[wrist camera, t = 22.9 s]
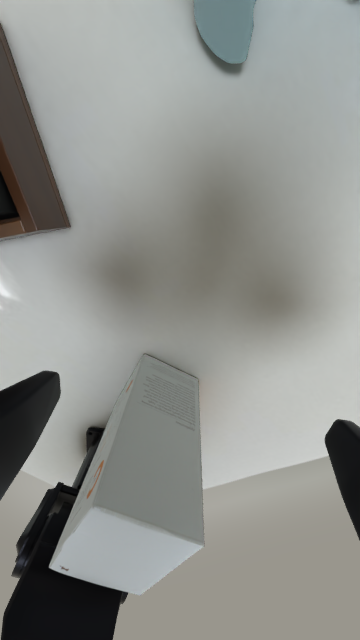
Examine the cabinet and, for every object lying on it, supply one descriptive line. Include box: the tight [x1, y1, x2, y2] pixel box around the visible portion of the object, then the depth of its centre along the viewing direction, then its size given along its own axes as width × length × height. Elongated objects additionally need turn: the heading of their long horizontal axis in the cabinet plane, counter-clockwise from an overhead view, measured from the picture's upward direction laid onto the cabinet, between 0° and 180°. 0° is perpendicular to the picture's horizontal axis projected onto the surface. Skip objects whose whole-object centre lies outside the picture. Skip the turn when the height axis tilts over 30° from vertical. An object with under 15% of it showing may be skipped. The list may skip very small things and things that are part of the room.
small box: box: [49, 354, 204, 595], centre depth 18 cm, size 8×6×13 cm
